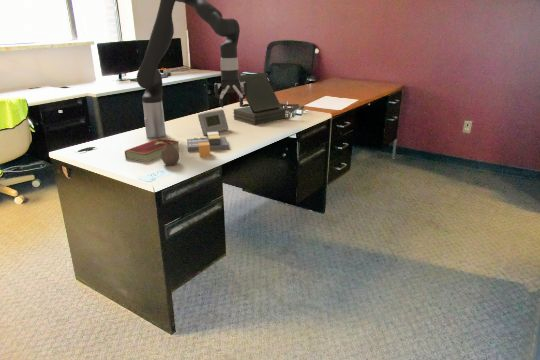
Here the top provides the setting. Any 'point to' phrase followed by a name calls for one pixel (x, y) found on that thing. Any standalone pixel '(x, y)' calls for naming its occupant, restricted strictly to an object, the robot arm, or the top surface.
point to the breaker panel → (194, 142)
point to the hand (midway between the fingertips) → (231, 106)
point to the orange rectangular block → (204, 149)
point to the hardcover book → (149, 150)
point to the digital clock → (213, 121)
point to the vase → (170, 154)
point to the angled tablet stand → (259, 101)
